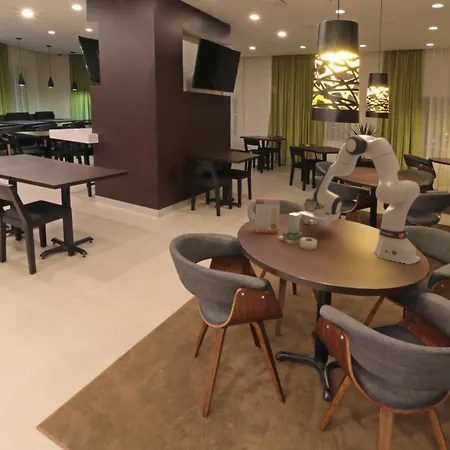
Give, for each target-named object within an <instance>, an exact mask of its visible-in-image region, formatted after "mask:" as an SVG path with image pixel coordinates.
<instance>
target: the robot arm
mask: <svg viewBox="0 0 450 450" xmlns="http://www.w3.org/2000/svg"><path fill="white" fill-rule="evenodd" d="M360 156H362V157H369V156H370V157H371V160H372V163H373V164H374V165H373V166H374V167H375V170H376V172H377V173H376V174H377V176H378V186H377V188H376V189H375V197H376V199H377V201H379V202H380V203H381V204H388V207H387V208H386V209H384V211H383V213H382V221H381V225H380V228H379V233H378V234H379V236H378V241H377V244H376V247H375V249H374V254H375V255H376V256H377V258H380V259H383V260H388V261H391V260H392V261H391V262H395V261H396V263H399V262H401V263H400V264H403V263H405V264H404V265H413V263H414V264H417V263H419V262H420V261H421V257H420V256H418V255H417V248H416V246H415V245H414V244H413V243H412V242H411V241H410V240H409V239H408V238H407V235H409V232H408V231H407V232H406V231H405V223H406V220H407V216H408V212H409V210H410V208H411V206H412V205H413V203H414V202H415V200H416V199H417V198H418V197H419V196H420V193H421V189H420V186H419V183H417V182H416V181H413V180H408V179H407V180H399V177H398V173H399V171H400V169H401V167H400V163H399V161H398V158H397V157H396V154H395V152H394V150H393V147H392V146H391V144H390V143H389V141H388V140H387V139H386V138H384V137H378V136H375V135H368V134H367V135H366V134H360V135H358V134H357V135H351V136H349V137H348V138H347V139H346V141H345V142H344V143H343V144H342V146H341V148H340V150H339V152H338V154H337V156H336V159H335V162H334V163H333V164H331V165H329V166H328V167H327V169H326V170H325V171H324V174H323V176H322V179H321V180H320V182H319V184H318V186H317V188H316V189H315V190H314V192H313V194H312V197H313V199H314V201H315V202H316V203H318V204H320V206H322V207H323V208H319V209H318V210H315V211H314V212H313V213H310V212H307V211H305V210H303V211H298V212H296V213H297V214H300V221H301V220H302V221H304V220H305V221H308V222H310V223H311V224H313V225H319V226H321V227H323V226H324V227H325V226H326V227H327V226H331V224H332V222H333V221H336V220H338V218H339V217H340V216H341V210H342V207H343V199H342V197H341V196H339V195H338V194H336V193H334V192H332V191H330V190H329V189H328V187H329V185H330V183H331V181H332V180H333V178H334V177H346V176H349V175H351V174H352V173H353V172H354V170H355V167H356V165H357V161H358V159H359V157H360ZM419 260H420V261H419ZM418 261H419V262H418ZM416 262H417V263H416Z"/></svg>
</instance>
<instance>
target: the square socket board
mask: <svg viewBox="0 0 450 450" xmlns="http://www.w3.org/2000/svg"><path fill="white" fill-rule="evenodd" d="M287 232H288V230H285V231H283V232H282V235H279V236H277V240H279V241H283V242H285V243H288V244H291V245H293V246H294V245H297V244H298V245H299V244H300V239H301V238H303V237H304V233H303V232H300V231H299V234H296V235H292V234H289V233H287Z"/></svg>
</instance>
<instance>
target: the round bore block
mask: <svg viewBox="0 0 450 450" xmlns="http://www.w3.org/2000/svg"><path fill="white" fill-rule="evenodd" d="M317 245H318V240H317V238H314V237H308V236H303V238H301V239H300V243H299V248H300V249H302V250H308V251H313V250H316V249H317Z"/></svg>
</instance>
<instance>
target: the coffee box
mask: <svg viewBox="0 0 450 450" xmlns="http://www.w3.org/2000/svg"><path fill="white" fill-rule="evenodd" d="M320 207H321V205H320V204H318V203H316V202H315V201H314V199H313V196H311V197H308V198H306V199H305V202H304V211H307V212H310V213H313V212H314V211H315V210H318V209H321V208H320ZM303 224H306V225H311V226H313V225H314V224H311V223H310V222H308V221H305V220H303Z"/></svg>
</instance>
